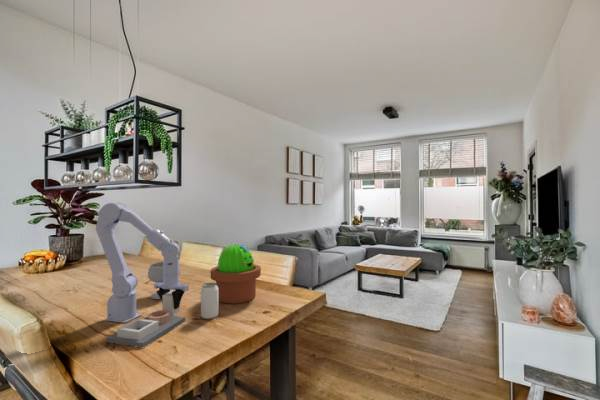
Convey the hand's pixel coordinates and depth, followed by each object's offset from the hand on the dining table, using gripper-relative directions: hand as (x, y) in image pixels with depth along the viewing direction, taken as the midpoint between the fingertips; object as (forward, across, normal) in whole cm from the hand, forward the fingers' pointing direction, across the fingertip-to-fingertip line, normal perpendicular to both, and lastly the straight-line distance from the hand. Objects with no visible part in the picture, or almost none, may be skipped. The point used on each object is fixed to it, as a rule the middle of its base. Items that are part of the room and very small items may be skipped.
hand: (171, 307), depth 115 cm
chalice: (+3, -18, +18) cm, 26 cm away
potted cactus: (+3, +16, +24) cm, 29 cm away
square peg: (+2, 0, 0) cm, 2 cm away
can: (+3, +16, +2) cm, 16 cm away
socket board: (+2, +3, -15) cm, 15 cm away
